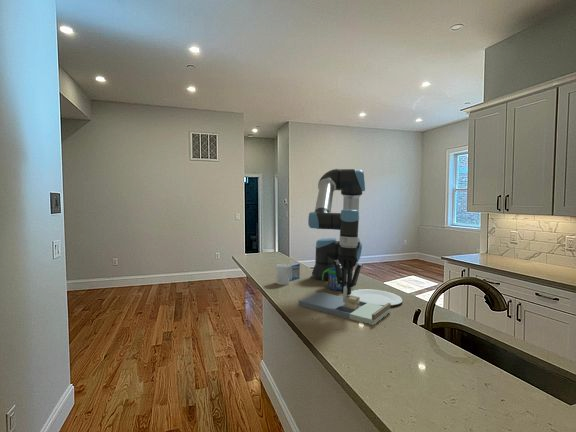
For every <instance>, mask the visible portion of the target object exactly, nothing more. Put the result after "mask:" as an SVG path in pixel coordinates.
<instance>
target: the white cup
mask: <svg viewBox="0 0 576 432" xmlns="http://www.w3.org/2000/svg"><path fill="white" fill-rule="evenodd" d="M289 264H290V263H289ZM289 264H287V263H279V264H276V265H275V270H276V271H275V273H276V275H275V276H276V284H277V285H278V286H279V285H281V286H286V285H289V284H290V280H289V278H290V267H291V265H289Z"/></svg>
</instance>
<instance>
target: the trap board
mask: <svg viewBox="0 0 576 432" xmlns="http://www.w3.org/2000/svg"><path fill="white" fill-rule="evenodd" d="M298 306H300V307H304V308H306V309H312V310H315V311H318V312H319V311H320V312H323V313H327V314H330V315H334V316H338V317H342V318H345V319H349V320H351V321H352V320H353V321H355V322H360V323H363V322H364V323H363V324H367V323H369V324H368V325H371V324H373V325H372V326H375V325H377V324H378V323H379V322H380V321H382V320H383V319H384V318H385V317H387V316H388V315H389V314H390V313H391V308H392V306H391V303H387V304H386V305H384V306H380V305H376V304H371V303H367V302H363V301H359V307H357V308H356V309H352V308H348V307H345V302H343V296H341V295H335V294H331V293H327V292H322V291H319V292H316V293H314V294H312V295H309V296H307V297H304V298H303V299H299V300H298ZM388 313H389V314H388ZM387 314H388V315H387ZM386 315H387V316H386ZM384 316H385V317H384ZM383 317H384V318H383ZM382 318H383V319H382ZM381 319H382V320H381ZM379 320H380V321H379ZM378 321H379V322H378ZM377 322H378V323H377ZM376 323H377V324H376ZM374 324H375V325H374Z"/></svg>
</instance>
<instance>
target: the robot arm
mask: <svg viewBox="0 0 576 432" xmlns="http://www.w3.org/2000/svg"><path fill="white" fill-rule="evenodd" d="M365 183H366V181H365V172H364V171H363V170H362V169H356V168H347V169H346V168H344V169H343V168H335V169H331V170H329V171H327V172H326V173H324V174H323V175H322V176H321V177H320V178H319V180H318V185H317V188H318V194H317V198H316V203H315V207H314V208H315V209H314V211H310V212H309V213H308V217H307V218H308V219H307V220H308V222H307V223H308V227H309V228H310V229H317V230H334V231H335V230H337V231H339V240H337V239H336V238H334V237H327V238H320V239H318V240H316V243H315V259H314V260H315V261H314V266H313V269H312V271H311V277H312V278H313V279H315V280H320V281H322V274H323V272H324V271H325V270H327V269H328V268H335V270H336V276H337V282H338V284H340V285H341V286H342V290H341V294H342V297H343V302H345V297H347V296H349V295H350V294H351V291H352V287H355V286H357V284H358V283H357V282H358V280H359V275H360V272H361V269H362V268H363V267H364V266H363V265H364V264H362V263H359V261H360V259H361V256H362V255H361V254H362V249H363V242H362V241H361V239H360V238H359V221H360V214H359V213H360V212H359V207H360V197H361V196H362V195H363V192H365V191H366V184H365ZM335 191H340V195H341V196H342V197H343V205H342V206H343V207H342V208H343V209H341V211H340V213H339V212H332V205H333V198H334V193H335ZM354 267H355V269H354ZM340 268H341V269H340ZM341 270H342V275H341ZM353 271H354V272H353ZM323 281H329V280H328V272H325V273H324V278H323Z"/></svg>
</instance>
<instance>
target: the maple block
mask: <svg viewBox="0 0 576 432" xmlns="http://www.w3.org/2000/svg"><path fill="white" fill-rule="evenodd" d="M359 301H360V297H357V296H353V295H349V296H347V297H345V307H348V308H352V309H356V308H357V307H359Z"/></svg>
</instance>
